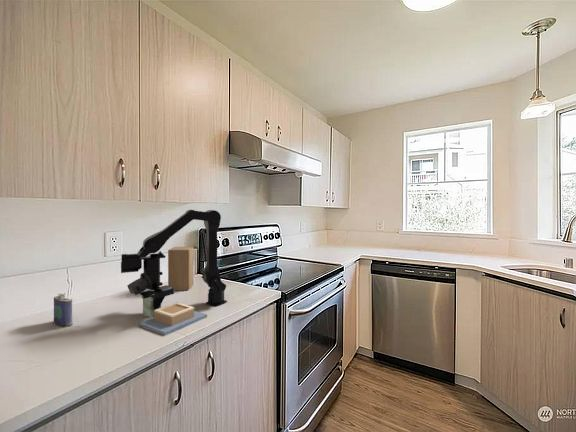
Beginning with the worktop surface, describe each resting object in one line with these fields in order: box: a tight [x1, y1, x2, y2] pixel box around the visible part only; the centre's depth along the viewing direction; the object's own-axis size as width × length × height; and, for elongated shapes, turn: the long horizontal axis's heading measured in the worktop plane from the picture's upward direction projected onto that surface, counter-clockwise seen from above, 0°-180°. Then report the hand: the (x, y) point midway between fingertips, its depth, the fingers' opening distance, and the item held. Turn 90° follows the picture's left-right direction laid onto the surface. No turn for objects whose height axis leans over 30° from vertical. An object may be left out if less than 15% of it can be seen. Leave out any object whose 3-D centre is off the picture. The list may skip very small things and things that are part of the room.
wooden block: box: [167, 246, 195, 291], centre depth 144 cm, size 10×10×20 cm
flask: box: [53, 293, 74, 328], centre depth 100 cm, size 9×3×11 cm, turn 63°
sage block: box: [142, 297, 162, 318], centre depth 110 cm, size 4×4×6 cm
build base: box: [138, 302, 208, 336], centre depth 103 cm, size 18×14×5 cm
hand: (152, 310), depth 110 cm, fingers closed on sage block, 4 cm apart
